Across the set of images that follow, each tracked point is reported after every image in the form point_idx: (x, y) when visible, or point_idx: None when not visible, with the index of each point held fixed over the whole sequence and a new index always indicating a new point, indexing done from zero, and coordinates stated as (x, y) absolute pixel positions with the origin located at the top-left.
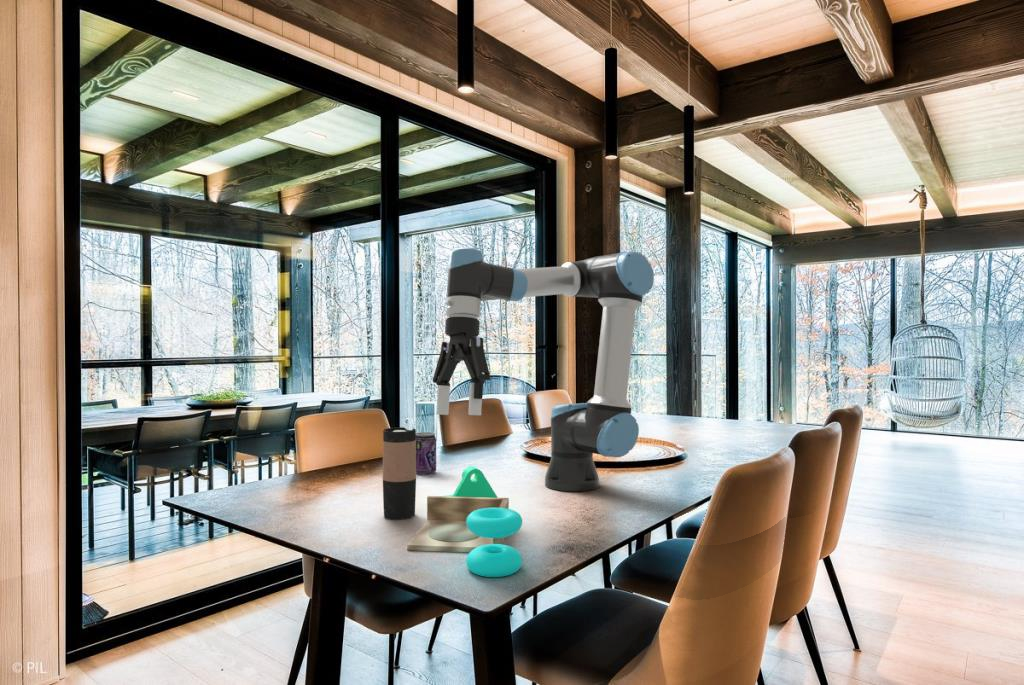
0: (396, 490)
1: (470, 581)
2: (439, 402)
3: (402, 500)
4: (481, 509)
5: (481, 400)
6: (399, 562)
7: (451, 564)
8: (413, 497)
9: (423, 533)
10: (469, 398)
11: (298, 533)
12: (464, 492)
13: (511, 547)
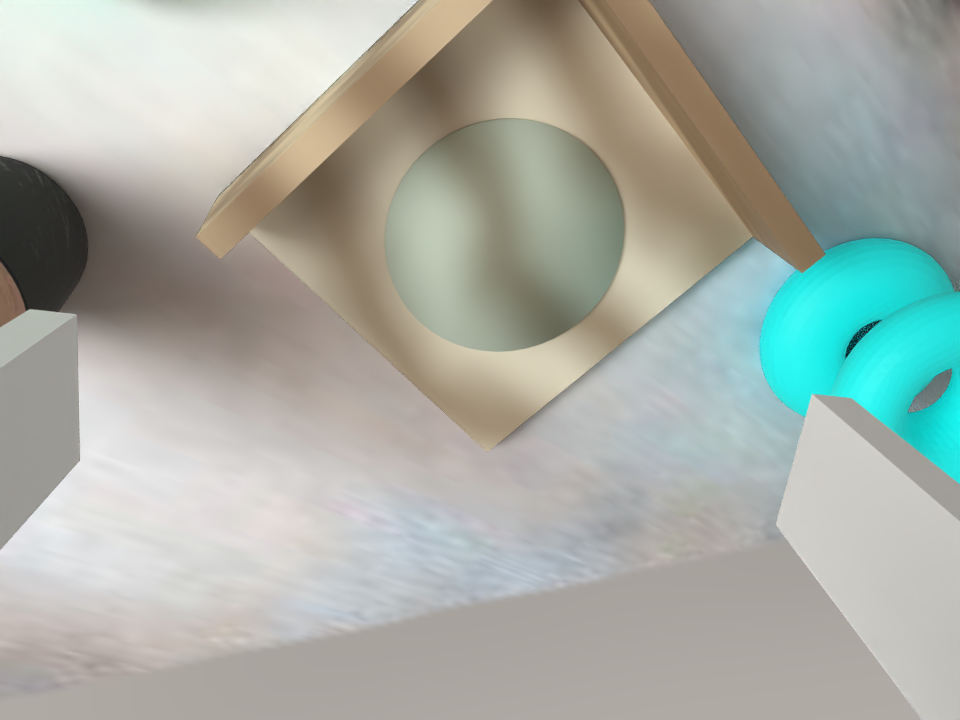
0: None
1: None
2: (8, 528)
3: (60, 300)
4: (888, 425)
5: (948, 483)
6: (564, 508)
7: (704, 401)
8: (38, 227)
9: (411, 342)
10: (868, 636)
11: (41, 639)
12: None
13: (913, 287)
